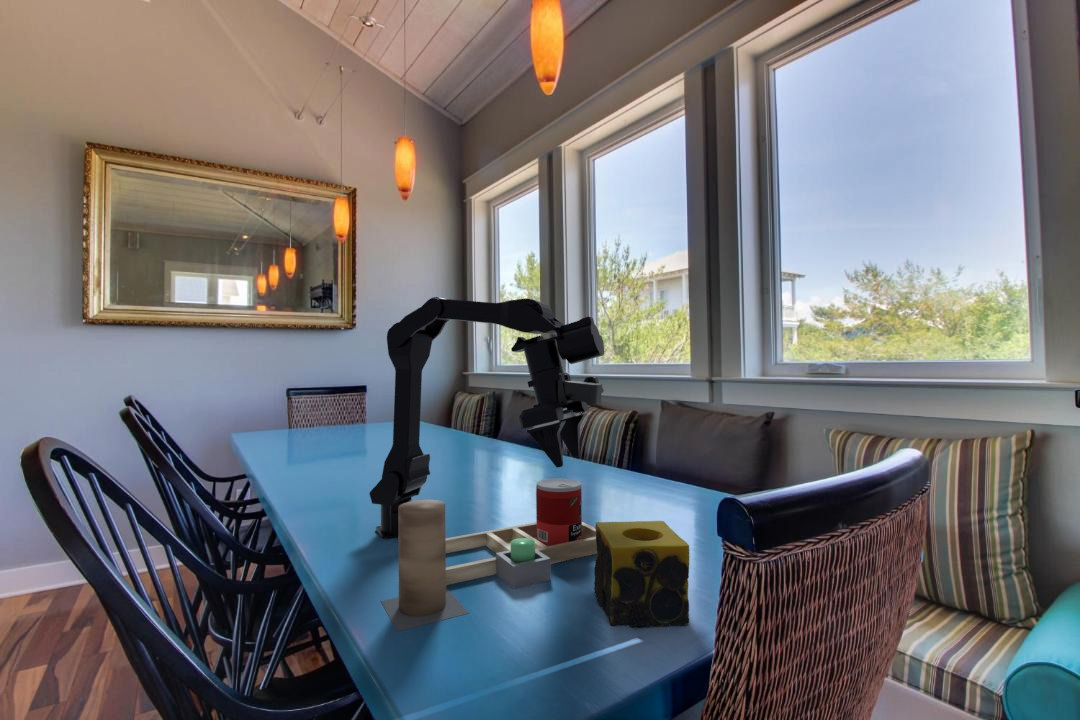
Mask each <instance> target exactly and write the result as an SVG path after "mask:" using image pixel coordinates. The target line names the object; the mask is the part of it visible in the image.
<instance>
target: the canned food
mask: <svg viewBox="0 0 1080 720" xmlns="http://www.w3.org/2000/svg"><path fill="white" fill-rule="evenodd" d="M535 487H536V488H535V489H536V490H535V499H536V500H535V501H536V502H535V503H536V504H535V505H536V507H535V509H536V513H535V514H536V515H535V516H536V521H535V522H537V538H536V540H538V541H539V542H541V543H543V544H544V545H546V546H552V545H557V544H562V543H567V542H572V541H576V540H581V539H582V522H583V521H582V515H583V514H582V513H583V512H582V511H583V509H582V506H583V505H582V504H583V503H582V502H583V501H582V497H583V496H582V494H583V493H582V483H581V482H580V481H578V480H576V479H573V478H571V479H570V478H561V477H560V478H559V477H558V478H556V477H555V478H554V477H553V478H546V479H541V480H539V481H537V482H536V485H535Z"/></svg>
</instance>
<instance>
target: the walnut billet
mask: <svg viewBox="0 0 1080 720" xmlns="http://www.w3.org/2000/svg"><path fill="white" fill-rule="evenodd" d="M398 531H399V536H398V597H399V611H400V612H401V613H402V614H404V615H407V616H414V617H420V616H427V615H431V614H434V613H437V612H439V611H441V610H442V609H443V608H444V607H445V605H446V587H447V585H446V567H447V565H446V564H447V563H446V562H447V560H446V557H447V556H446V555H447V553H446V538H447V537H446V535H447V534H446V503H445V502H444V501H441V500H439V499H417V500H412V501H410V502H406V503H403V504H401V505H400V506H399V507H398Z"/></svg>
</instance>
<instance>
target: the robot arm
mask: <svg viewBox="0 0 1080 720" xmlns="http://www.w3.org/2000/svg"><path fill="white" fill-rule="evenodd" d="M451 320H452V321H462V322H470V323H471V322H474V323H481V324H482V323H483V324H493V325H498V326H501V327H504V328H507V329H511V330H515V331H518V332H521V333H526V334H533V335H537V336H534V337H530V338H526V337H523V336H518V337H517V339H516V341H515V343H514V344H513V346H512V347H511V348H510V349H511V352H512V353H513V352H514V353H524V357H525V360H526V365H527V368H528V373H529V376H530V380H529V381H527V385H528V388H532V390H533V392H534V393H533V394H534V398H535V401H536V404H534V405H533V407H532V408H531V407H530V408H527V409H523V410H522V411H521V413H520V415H519V417H518V419H519V424H520V428H521V430H524V429H526V430H525V432H526V433H527V434H528V435H530V436H531V438H532V439H533V440H534V441H535V443H537V445H538V446H539V447H540V449H541V450H542V451H543V452H544V453H545V455H546V456H547V457H548V459H549V460H550V461H551V462H552V464H553V465H554V467H556V468H563V467H564V457H563V448H562V441H563V443H564V445H565V447H566V448H567V450H568V451H569V453H570V455H571V457H573V459H574V458H579V457H580V443H581V442H580V439H581V438H580V434H581V432H580V431H581V429H580V428H581V424H582V422H583V420H584V419H585V418H586V417H587V415H588V413H587V412H588V411H589V405H598V404H601V402H602V393H604V392H605V390H604V388H603V383H600V382H599V380H598V377H597V376H586V377H584V378H585V379H584V380H583V381H581V380H580V381H579V380H578V381H576V380H572V378H571V375H570V374H569V373H568V372H565V371H564V368H563V365H562V360H563V361H567V362H568V364H570V365H573V364H578V363H581V362H585V361H589V360H592V359H595V358H599V357H603V356H604V355H605V345H604V340H603V336H602V335H601V334H600V331H599V329H598V327H597V326H596V324H595V320H594V318H593V317H591V316H585V317H582V318H581V319H579V320H576V321H574V322H570V323H566V324H564V323H563V322H561V321H560V320H559V319H557V318H556V317H555V316H554V313H553V310H552V308H551V307H550V305H548V304H547V303H545V302H542V301H540V300H539V301H538V300H535V299H531V298H529V297H527V298H519V299H518V298H517V299H510V300H505V301H500V302H487V301H475V300H464V299H461V300H460V299H448V298H444V297H443V298H442V297H438V296H434V297H430V298H429V299H427V300H426V302H424V304H422V305H421V306H420V307H418V308H416V309H415V310H413V311H411V312H410V313H409V314H406V315H405V316H404V317H403V318H402V319H401V320H400V321H399V322H395V323H394V324H393V325H392V326H391V327H390V328H388V330H387V333H386V345H387V353H388V357H389V359H390V361H391V363H392V365H393V368H394V369H395V370H394V372H395V373H394V374H395V376H394V397H393V398H394V399H393V401H394V402H393V423H392V424H393V429H392V446H391V448H390V451H389V452H388V454H387V456H386V458H385V460H384V464H383V468H382V472H381V473H382V474H381V478H380V480H379V481H378V483H376V485H374V486H373V488H372V489H371V490H370V492H369V497H370V500H371V504H374V505H380V525H378V526H376V527H375V531H376V532H377V533H378V534H379V536H380V538H382V539H389V538H394V537H399V531H398V507H399V506H400V505H401V504H403V503H406V502H410V501H413V499H412V498H413V497H416V496H418V495H420V493H421V488H422V487H423V486H424V485H425V484H426V482H427V479H428V476H430V475H431V471H430V461H431V455H430V454H429V453H425V454H424V453H423V451H422V448H421V446H420V445H421V444H420V433H421V432H420V428H421V406H422V405H421V404H422V383H423V382H422V380H423V379H422V377H423V374H422V373H423V369H424V367H425V365H426V364H427V361H428V359H429V357H430V355H431V351H432V350H431V349H432V346H433V345H432V343H433V341H434V340H435V339H437V337H438V336H439V335H440V334H441V333H442V331H443V330H444V328H445V326H446V324H447V323H448V322H449V321H451ZM543 334H547V335H549V334H550V335H556V336H552V337H549V338H545V337H544V336H543ZM584 412H586V413H584ZM580 413H583V414H580ZM532 427H533V428H532ZM527 428H528V429H527Z"/></svg>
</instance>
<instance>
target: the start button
mask: <svg viewBox="0 0 1080 720" xmlns="http://www.w3.org/2000/svg"><path fill="white" fill-rule="evenodd" d="M511 560H512V561H513V562H515V563H516V564H517V563H521V562H526V561H531V560H535V541H534V540H532V539H528V538H518V539H514V540H512V541H511Z"/></svg>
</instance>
